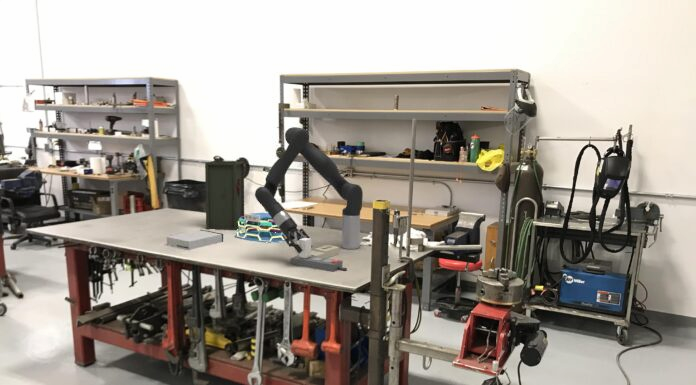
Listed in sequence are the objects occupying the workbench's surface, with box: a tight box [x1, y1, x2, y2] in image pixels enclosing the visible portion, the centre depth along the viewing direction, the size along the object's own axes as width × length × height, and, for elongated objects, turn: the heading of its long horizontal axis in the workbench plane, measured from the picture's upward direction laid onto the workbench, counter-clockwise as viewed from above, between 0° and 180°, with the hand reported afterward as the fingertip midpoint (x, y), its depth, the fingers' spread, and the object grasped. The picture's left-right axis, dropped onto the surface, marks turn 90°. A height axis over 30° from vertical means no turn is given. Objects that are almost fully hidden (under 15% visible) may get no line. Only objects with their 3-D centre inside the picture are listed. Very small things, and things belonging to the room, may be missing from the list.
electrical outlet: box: [311, 244, 340, 259], centre depth 238 cm, size 7×4×18 cm
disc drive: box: [166, 229, 224, 251], centre depth 259 cm, size 18×22×5 cm
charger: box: [298, 237, 312, 259], centre depth 223 cm, size 5×4×12 cm
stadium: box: [234, 212, 286, 244], centre depth 278 cm, size 35×24×14 cm
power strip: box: [290, 254, 348, 273], centre depth 220 cm, size 8×26×4 cm, turn 63°
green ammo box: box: [204, 160, 245, 231], centre depth 303 cm, size 18×18×40 cm
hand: (306, 250), depth 223 cm, fingers open, 8 cm apart
